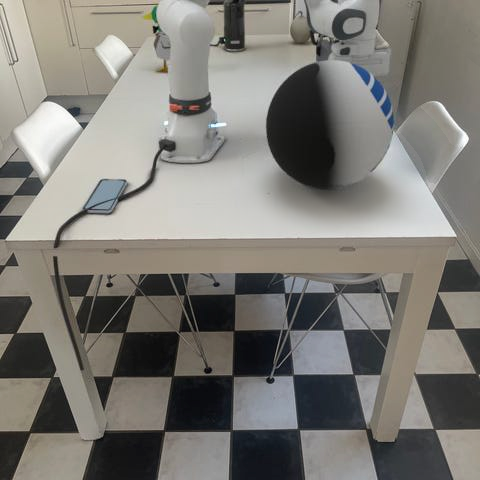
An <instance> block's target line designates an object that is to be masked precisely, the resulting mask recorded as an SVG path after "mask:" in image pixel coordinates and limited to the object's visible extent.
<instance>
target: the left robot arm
mask: <svg viewBox="0 0 480 480" xmlns="http://www.w3.org/2000/svg"><path fill="white" fill-rule="evenodd" d="M210 2H211V0H160V2H159V3H158V4H157V5H158V7H157V11H156V17H157V21H158V23H157V25H158V24H159V26H160V28H161V30H162V31H163V32H164V33H165V34H166V35H167V36H168V37H169V39H170V43H171V52H170V60H169V62H168V65H167V68H168V69H167V74H168V75H167V76H168V84H169V95H168V104H169V110H168V111H167V112H166V117H167V121H164V122H163V124H164V126H167V128H165V134H163V135H162V136H161V137H162V138H161V139H160V140H158V146H159V150H157V152H156V154H155V155H154V158H153V161H152V166H151V167H152V168H151V170H150V175H149V178H148V179H147V181H145V182H144V183H143V184H141V185H140V186H139V187H137V188H135V189H133V190H131V191H129V192H127V193H124V194H121V196H119V197H116V198H113V199H110V200H107V201H104V202H101V203H98V204H95V205H93V206H91V207H89V208H87V209H85V210H83V211H82V210H81V211H78V212H77V213H75V214H73V215H72V216H71V217H70V218H68V219H67V220H66V221H65V222H64V223H63V224H62V225H61V226H60V227H59V228H58V231H57V232H56V235H55V239H54V243H53V249H57V248H58V247H59V245H60V241H61V236H62V233H63V232H64V230H66V228H67V227H68V226H69V225H70V224H72V223H73V222H74V221H76V220H77V219H79V218H80V217H81V216H83V215H85V214H88V213H87V212H88V210H90V209H92V208H94V207H96V206H98V205H100V204H103V203H105V202H108V201H111V200H114V199H117V198H118V202H119V201H122V200H124V199H126V198H129V197H131V196H133V195H135V194H137V193H139V192H141V191H142V190H144V189H146V188H147V187H149V185H150V184H151V183H152V181H153V179H154V177H155V172H156V168H157V163H158V159H159V157H160V158H161V160H163V161H165V162H170V163H178V164H179V163H180V164H181V163H182V164H195V163H204V162H208V161H210V160H211V159H212V158H213V157H214V155H215V154H216V153H217V151H218V150H219V149H220V148H221V146H222V145H223V144H224V142H225V139H226V138H225V136H224V135H222V134H220V133H219V127H225V126H227V123H226V122H220V123H219V119H218V113H217V112H216V111H215V110H214V109H213V108H212V93H211V92H210V84H209V59H210V52H211V51H210V50H211V46H210V45H211V44H212V42H213V40H214V39H215V35H216V25H215V22H214V19H213V17H212V16H211V14H210V13H209V11H208V10H207V9H206V8H207V6H208V5H209V3H210ZM303 2H304V5H305V11H306V17H307V23H308V26H309V28H310V29H311V31H313V32H314V33H315V34H317V35H318V34H321V35H325V36H328V37H327V38H329V37H330V38H333V39H334V40H335V39H336V40H340V42H337V43H335V44H333V45H332V46H331V50H332V53H331V54H330V55H329V58H328V60H339V61H346V62H349V63H353V64H355V65H357V66H360V67H362V68H363V69H365V70H367V71H368V72H370V73H371V74H372V75H373V76H374V77H380V76H381V77H383V76H387V75H388V74H389V73H390V62H391V61H390V59H391V56H392V48H391V47H390V46H388V45H387V44H383V45H376V40H377V39H376V38H377V33H376V31H377V26H378V23H379V17H380V0H344V1H343V2H340V3H339V2H338V3H334V2H332V1H331V0H303ZM52 262H53V271H54V280H55V285H56V290H57V295H58V299H59V304H60V308H61V311H62V315H63V317H64V318H63V319H64V323H65V325H66V329H67V331H68V334H69V337H70V340H71V343H72V347H73V350H74V353H75V356H76V360H77V363H78V366H79V370H80V371H84V370H85V367H84V364H83V360H82V357H81V353H80V349H79V346H78V344H77V340H76V337H75V334H74V331H73V328H72V325H71V321H70V318H69V316H68V315H69V314H68V311H67V308H66V304H65V300H64V296H63V289H62V284H61V279H60V270H59V261H58V255H53V256H52Z"/></svg>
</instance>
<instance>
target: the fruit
mask: <svg viewBox="0 0 480 480" xmlns="http://www.w3.org/2000/svg"><path fill="white" fill-rule="evenodd" d="M299 14H300V16H298V15H299ZM309 29H310V28H309V26H308V23H307V16H305V15H303V11H302V10H298V12H297V13H296V15H294V19H293V20H292V21H291V22H290V26H289V34H290V37H291V39H292V40H293V41H294V42H295V43H298V44H306V43H307V42H308V41H309V40H311V38H310V34H309Z"/></svg>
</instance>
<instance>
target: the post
mask: <svg viewBox="0 0 480 480" xmlns="http://www.w3.org/2000/svg"><path fill="white" fill-rule="evenodd" d="M331 46H332V44H331V43H330V41H329V39H328V38H327V39H325V38H323V40H322V42H321V45H320V47H321V50H320V56H317V54H316V53H315V61H316V62H319V61H327V60H328V58H329V55H330V54H331V53H332V50H331Z"/></svg>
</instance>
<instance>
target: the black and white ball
mask: <svg viewBox="0 0 480 480" xmlns="http://www.w3.org/2000/svg"><path fill="white" fill-rule="evenodd" d="M265 119H266V120H265V135H266V141H267V145H268V147H269V151H270V153H271V155H272V157H273V159H274V161H275V162H276V164H277V165H278V166H279V168H280V169H281V170H282V171H283V172H284V174H286V175H287V176H288V177H290V178H291V179H292V180H294V181H295V182H297V183H299V184H301V185H303V186H306V187H310V188H313V189H317V190H338V189H342V188H346V187H349V186H351V185H354V184H356V183H358V182H361V181H362V180H363V179H366V177H368V176H369V175H370V174H371V173H373V172H374V170H376V169H377V167H378V166H379V165H380V164H381V162H382V161H383V160H384V158H385V157H386V154H387V153H388V151H389V149H390V146H391V143H392V139H393V135H394V129H395V128H394V127H395V115H394V110H393V106H392V102H391V99H390V97H389V95H388V92H387V90H386V89H385V87H384V86H383V84H382V83H381V82H380V81H379V79H378V78H377V77H376V76H373V75H372V74H371V73H370V72H368V71H367V70H365V69H363V68H362V67H360V66H357V65H355V64H353V63H349V62H346V61H339V60H327V61H319V62H317V61H316V62H312V63H309V64H307V65H304V66H303V67H301V68H299V69H297V70H295V71H293V73H292V74H290V75H289V76H288V77H287V78H286V79H285V80H284V81H282V83H281V84H280V86H278V88H277V90H276V91H275V92H274V94H273V97H272V99H271V101H270V104H269V105H268V109H267V115H266V118H265Z"/></svg>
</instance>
